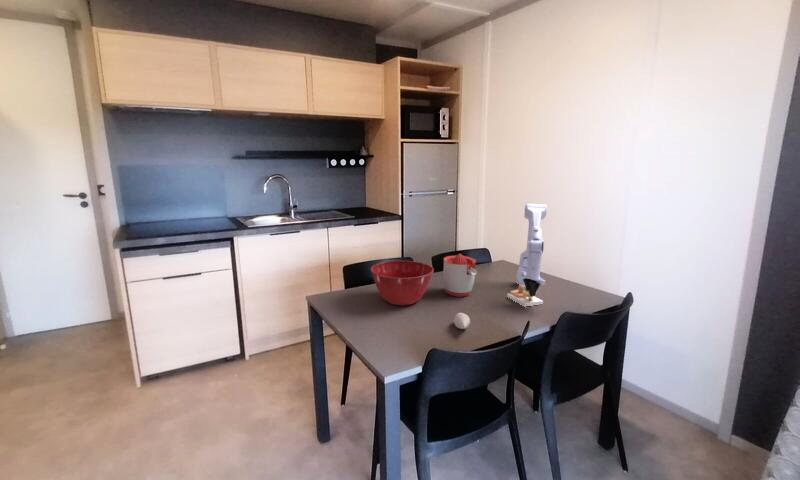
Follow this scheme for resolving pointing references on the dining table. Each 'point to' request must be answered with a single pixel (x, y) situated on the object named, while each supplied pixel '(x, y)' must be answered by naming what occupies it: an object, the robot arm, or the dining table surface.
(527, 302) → the latch box
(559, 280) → the dining table surface
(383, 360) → the dining table surface
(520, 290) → the cover
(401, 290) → the mixing bowl
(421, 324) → the dining table surface
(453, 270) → the citrus juicer
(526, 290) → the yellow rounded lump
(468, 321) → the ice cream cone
